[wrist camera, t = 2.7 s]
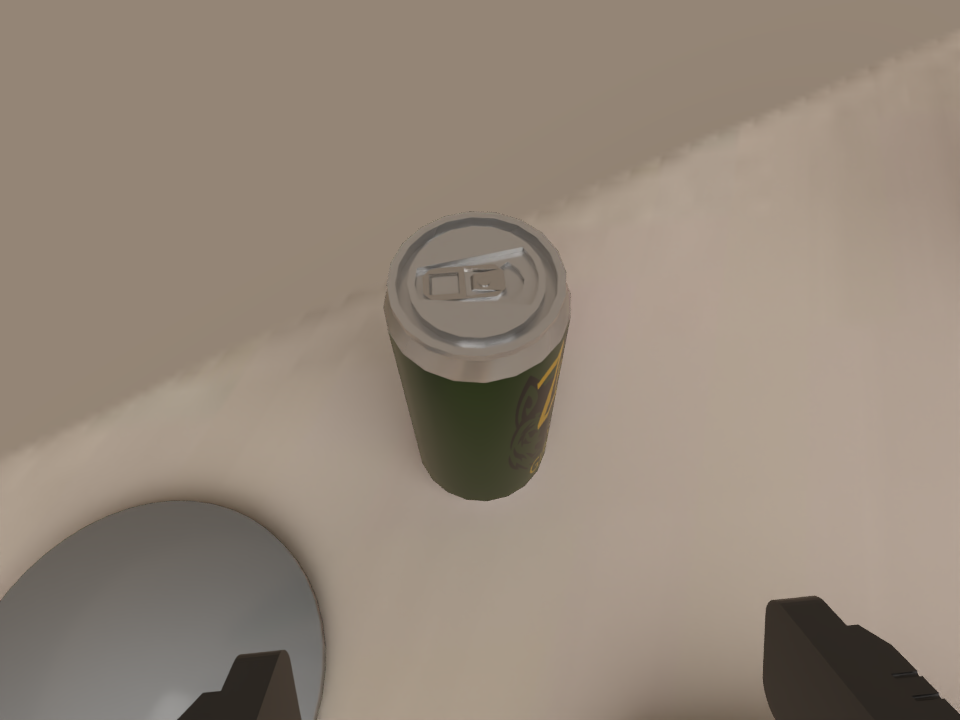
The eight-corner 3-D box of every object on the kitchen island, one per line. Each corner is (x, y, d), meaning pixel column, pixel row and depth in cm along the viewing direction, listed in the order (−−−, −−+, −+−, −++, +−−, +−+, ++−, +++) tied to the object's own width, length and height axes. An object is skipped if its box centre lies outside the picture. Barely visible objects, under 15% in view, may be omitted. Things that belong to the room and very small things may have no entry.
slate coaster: (270, 457, 28) (264, 450, 27) (376, 781, 22) (372, 783, 21) (-51, 592, 25) (-67, 588, 24) (-30, 1001, 19) (-49, 1012, 19)
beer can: (422, 511, 26) (377, 372, 16) (418, 396, 29) (378, 212, 19) (551, 501, 27) (590, 356, 16) (535, 386, 29) (560, 198, 19)
